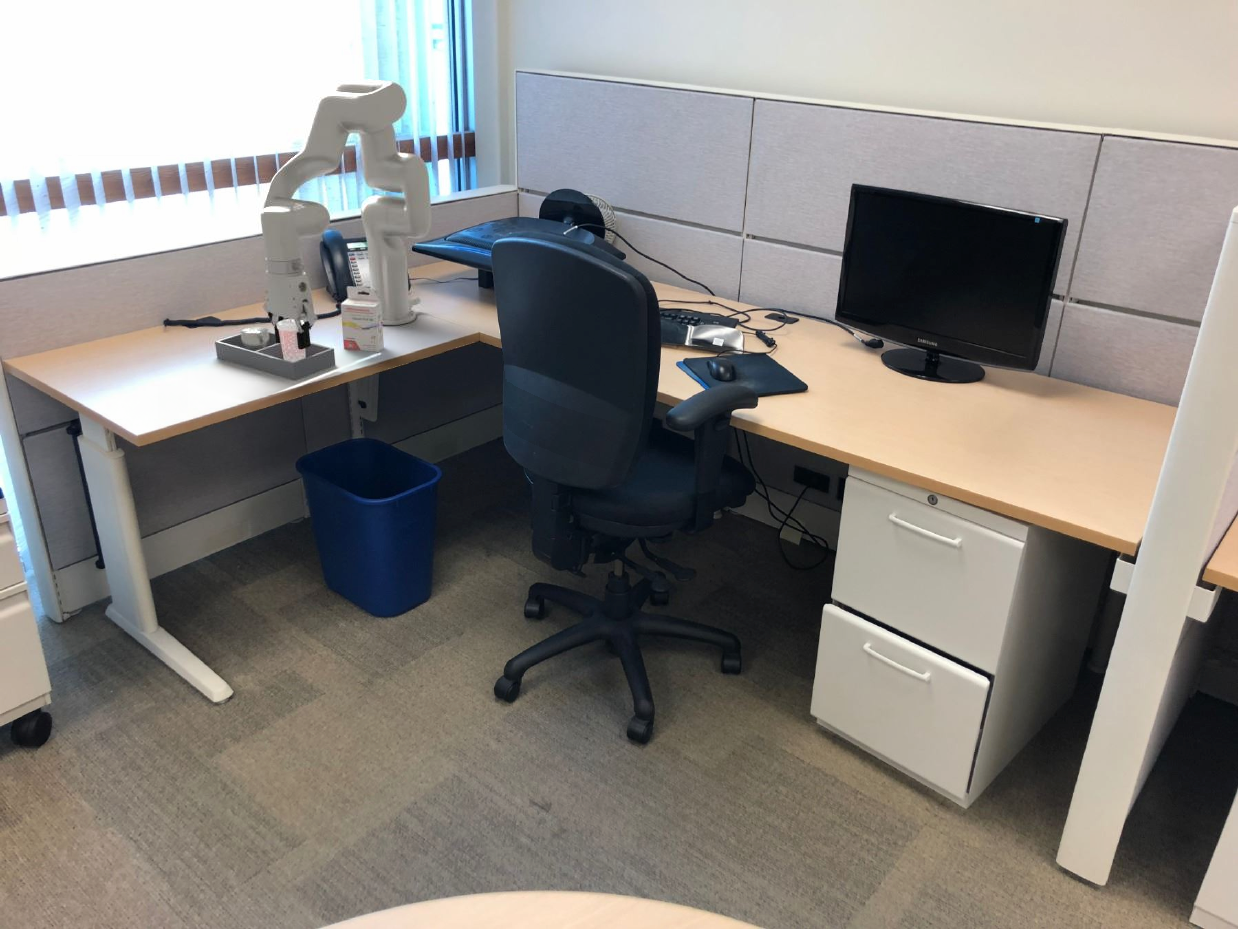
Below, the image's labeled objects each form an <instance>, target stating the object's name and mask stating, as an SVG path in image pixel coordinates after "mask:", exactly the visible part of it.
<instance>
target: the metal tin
mask: <svg viewBox="0 0 1238 929" xmlns="http://www.w3.org/2000/svg"><path fill="white" fill-rule="evenodd" d="M268 331H269V329H268V328H266V327H261V326H252V327H246V328H244V329H243V328H242V330H241V331H240V333H241V339H242V347H243V348H244V349H248V350H251V351H257V350H260V349H263V348H265V347H268V346H270V341H269V332H268Z"/></svg>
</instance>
